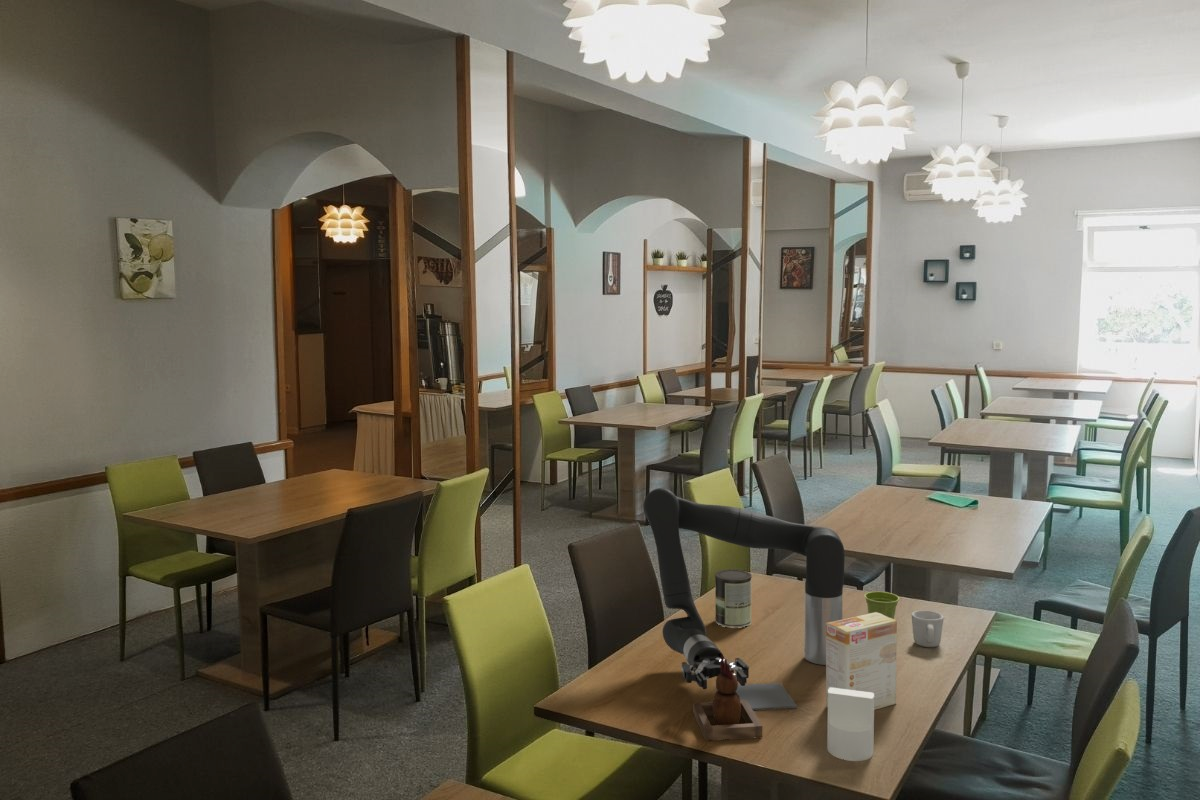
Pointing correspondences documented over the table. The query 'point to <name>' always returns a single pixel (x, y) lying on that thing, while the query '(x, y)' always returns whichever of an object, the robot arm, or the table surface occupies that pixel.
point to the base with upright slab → (850, 724)
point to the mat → (765, 696)
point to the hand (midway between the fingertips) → (724, 683)
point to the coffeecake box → (863, 656)
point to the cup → (927, 628)
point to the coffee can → (733, 598)
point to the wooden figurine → (726, 697)
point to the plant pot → (882, 603)
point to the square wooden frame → (727, 731)
